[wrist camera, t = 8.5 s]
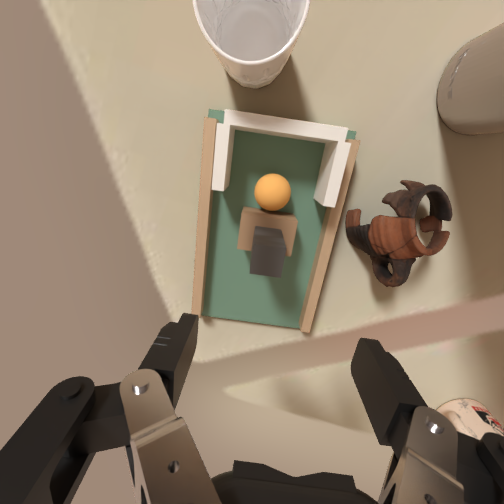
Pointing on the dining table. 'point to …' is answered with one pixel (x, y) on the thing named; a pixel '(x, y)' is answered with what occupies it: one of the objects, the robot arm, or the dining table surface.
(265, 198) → the ball
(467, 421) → the teacup with lid
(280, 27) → the white cup
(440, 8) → the dining table surface
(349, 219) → the pottery mug
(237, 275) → the pitch
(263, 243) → the striker
